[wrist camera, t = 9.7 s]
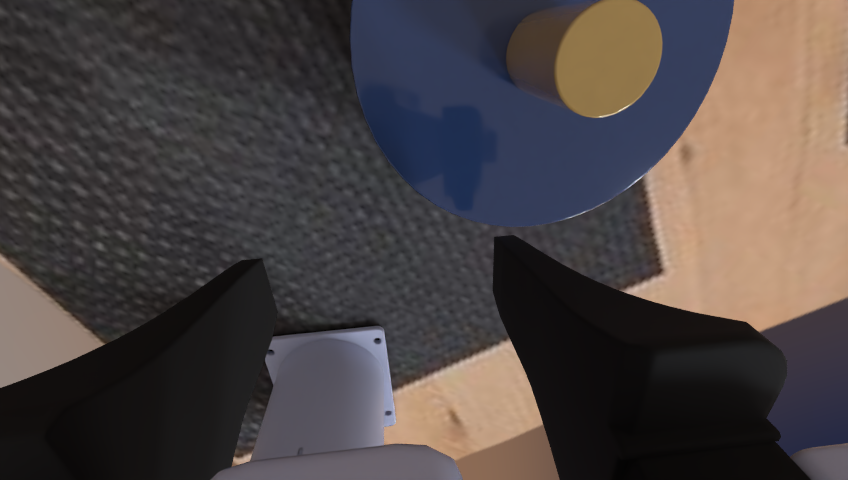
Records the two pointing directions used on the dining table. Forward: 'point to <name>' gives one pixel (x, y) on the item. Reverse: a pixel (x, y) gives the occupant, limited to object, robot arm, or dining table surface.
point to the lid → (531, 96)
